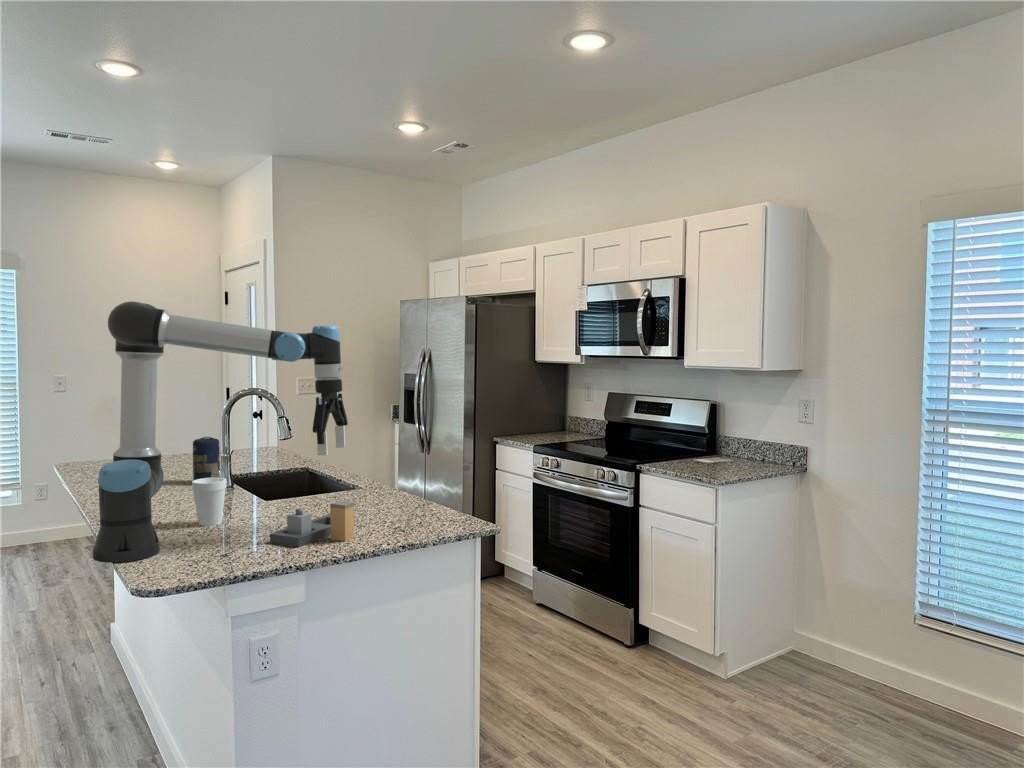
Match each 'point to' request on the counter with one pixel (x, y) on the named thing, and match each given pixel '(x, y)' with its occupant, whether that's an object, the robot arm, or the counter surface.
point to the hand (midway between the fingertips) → (332, 451)
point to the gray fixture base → (302, 529)
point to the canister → (206, 458)
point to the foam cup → (209, 500)
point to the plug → (342, 520)
